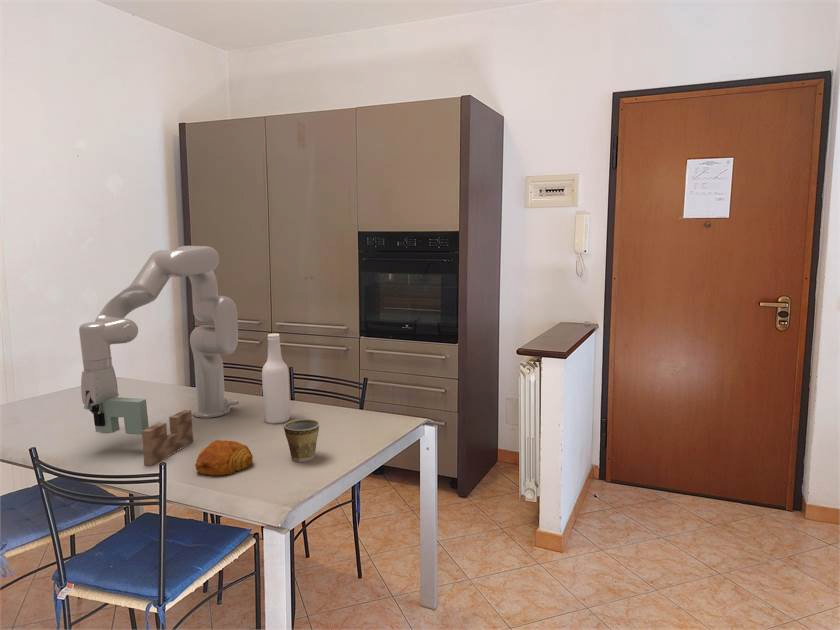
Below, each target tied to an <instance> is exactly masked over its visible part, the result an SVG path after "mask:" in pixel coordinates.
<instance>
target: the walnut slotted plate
mask: <svg viewBox="0 0 840 630" xmlns="http://www.w3.org/2000/svg"><path fill="white" fill-rule="evenodd" d="M168 421H169V432H170V433H168V429H167V428H168V427H167V423H166V422H157V423H155V424H153V425H150V426H149V428H147V429H145V430H143V431H142V435H141V439H142V441H141V442H142V452H143V464H144V466H148V467H149V466H151V467H152V466H154V465H156V464H158V463H160V462H161V461H163V460H164V459H166V458H168V457H169V456H168V455H170V454H171V455H173V454H174V453H173V452H175V451H176V452H178V451H179V450H178V449H180V448H181V449H183V448H184V446H185V445H186V446H188V445H189V443H190V444H192V443H193V442H194V431H193V429H194V428H193V411H192V410H191V409H190V410H189V409H183V410H181V411H179V412H177V413H175V414H173V415H171V416H169V420H168ZM192 441H193V442H192ZM187 444H188V445H187ZM186 446H185V447H186ZM182 447H183V448H182ZM181 449H180V450H181ZM177 450H178V451H177ZM176 452H175V453H176ZM172 453H173V454H172ZM171 455H170V456H171ZM167 456H168V457H167ZM165 457H166V458H165ZM163 458H164V459H163ZM162 459H163V460H162ZM157 462H158V463H157Z"/></svg>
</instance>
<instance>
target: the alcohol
mask: <svg viewBox="0 0 840 630" xmlns="http://www.w3.org/2000/svg"><path fill="white" fill-rule="evenodd" d="M280 335H281V334H279V333H277V332H276V333H268V334H267V360H266V362H265V363H264V365H263V367H262V371H261V381H262V403H263V419H264V421H265V422H266V423H267V424H271V425H273V424H274V425H276V424H278V425H279V424H283V423H287V422H289V420H290V418H291V403H290V402H291V400H290V399H291V397H290V374H289V368H288V365H287V364H286V362H284V360H283V357H282V348H281V342H280V341H281V340H280V339H281V338H280Z"/></svg>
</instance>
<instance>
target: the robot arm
mask: <svg viewBox="0 0 840 630" xmlns="http://www.w3.org/2000/svg"><path fill="white" fill-rule="evenodd" d="M219 263H220V256H219V253H218V251H217V250H216V249H215V248H214V247H211V246H208V245H203V246H202V245H181V246H179V247H176V248H175V249H174V250H173V249H172V250H171V249H169V250H168V249H162V250H161V249H160V250H159V249H158V250H157V251H154V252H153V253H152V254H151V255H150V256H149V258H148V259H147V260H146V262H145V263H144V265H143V266H142V268H141V269H140V271H139V272H138V273H137V275H136V276H135V278H134V279H133V280H132V282H131V284H130V285H128V286H127V287H126V288H125V289H123V290H122V291H121V292H119V293H118V294H117V295H115V296H114V297H112V298H111V299H110V300H109V301H108V302H107V303H106V304H105V305H104V306H103V308H102V309H101V311H100V312H99V314H98V315H97V317H96V318H95V320H94V321H92V322H85V323H83V324H81V325H80V326H79V328H78V331H79V332H78V333H79V340H80V341H79V342H80V349H81V359H82V366H83V370H82V372H81V378H80V384H81V385H80V392H81V394H80V395H81V402H82V404H83V405H84V406H83V409H84V410H87V411H89V412H91V414H92V415H93V421H94V427H95V426H105V419H104V413H102V403H103V402H104V400H106V399H108V398H110V397H119V396H120V394H119V389H118V387H119V386H118V381H117V377H116V372H115V369H114V366H113V360H112V359H113V358H112V352H111V351H112V350H111V345H117V344H128V343H130V342H132V341H134V340H135V339H136V338H137V336H138V335H139V327H138V325H137V323H136V322H134V321H133V320H132V319H129V318H125V317H126V316H128V315H129V314H130V313H131V312H132V311H134V310H136V309H139V308H141V307H143V306H146V305H149V304H151V303H153V302H154V301H156V300H157V298H158V297H159V295H160V294H161V292H162V290H163V289H164V287H165V286H166V285H167V283H168V282H169V280H170V278H171V277H174V278H185V277H188V278H189V280H190V284H191V298H192V300H191V301H192V313H193V316H194V318H195V319H196V320H197V321H199V322H203V323H212V324H214V325H207V324H206V325H199V326H197V327H195V328H194V329H193V330H192V332H191V333H190V337H189V343H190V345H189V346H190V348H191V352H192V355H193V356H192V357H193V361H194V376H195V377H194V378H195V393H196V394H195V395H196V408H195V409H194V410H193V411H192V416H194V417H196V418H200V419H201V418H203V419H204V418H205V419H207V418H209V419H211V418H217V417H221V416H225V415H227V414H229V413H230V412H231V406H236V405H239V404H240V401H239V399H238V398H237V399H233V398H231V399H230V398H229V399H227V398H226V394H225V377H224V362H223V358H222V356H228V355H231V354H233V353H234V352H235V351H236V349H237V347H238V343H239V322H238V319H239V318H238V316H239V315H238V309H237V305H236V304H235V302H234V300H233V299H232V298H230V297H228V296H225V295H219V291H218V290H219V289H218V288H219V287H218V280H217V277H216V274H215V272H214V270H215V269H216V268H218V266H219ZM221 355H222V356H221ZM95 405H97V407H96V406H95Z"/></svg>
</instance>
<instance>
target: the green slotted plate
mask: <svg viewBox="0 0 840 630" xmlns="http://www.w3.org/2000/svg"><path fill="white" fill-rule="evenodd" d="M95 406H96V407H97V405H95ZM102 413H104V419H105V426H95V425H94V427H95V432H96V433H115V432H117V431H119V430H120V424H119V423H120V422H119V418H123V423H124V430H125V431H124V433H125V434H126V435H137V436H138V435H139V436H142V431H143V430H145V429H147V428H149V427H150V426H149V416H148V407H147V398H133V397H119V396H118V397H110V398H108V399H106V400H104V402H103V403H102Z"/></svg>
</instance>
